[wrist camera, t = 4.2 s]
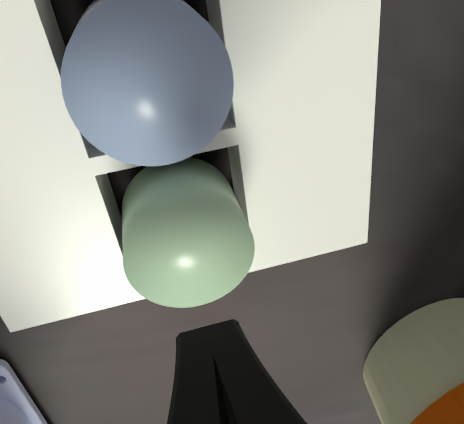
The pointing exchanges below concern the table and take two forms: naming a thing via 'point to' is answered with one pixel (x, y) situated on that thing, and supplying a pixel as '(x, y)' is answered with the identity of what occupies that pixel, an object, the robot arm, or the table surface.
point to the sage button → (184, 234)
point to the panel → (230, 135)
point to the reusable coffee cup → (420, 367)
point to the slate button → (146, 80)
